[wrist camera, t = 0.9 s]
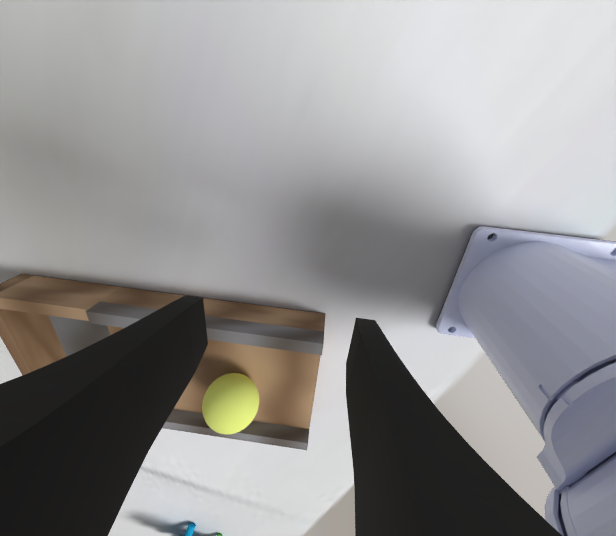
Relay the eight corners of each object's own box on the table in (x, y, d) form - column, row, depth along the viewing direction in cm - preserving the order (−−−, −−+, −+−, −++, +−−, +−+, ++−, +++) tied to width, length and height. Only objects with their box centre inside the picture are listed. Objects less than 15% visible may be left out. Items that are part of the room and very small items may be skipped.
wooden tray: (325, 313, 20) (323, 343, 17) (310, 414, 26) (306, 450, 23) (21, 273, 21) (-27, 296, 18) (70, 379, 27) (38, 409, 24)
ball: (265, 365, 20) (250, 414, 17) (264, 399, 22) (250, 450, 19) (213, 357, 21) (188, 405, 17) (217, 392, 22) (194, 442, 19)
